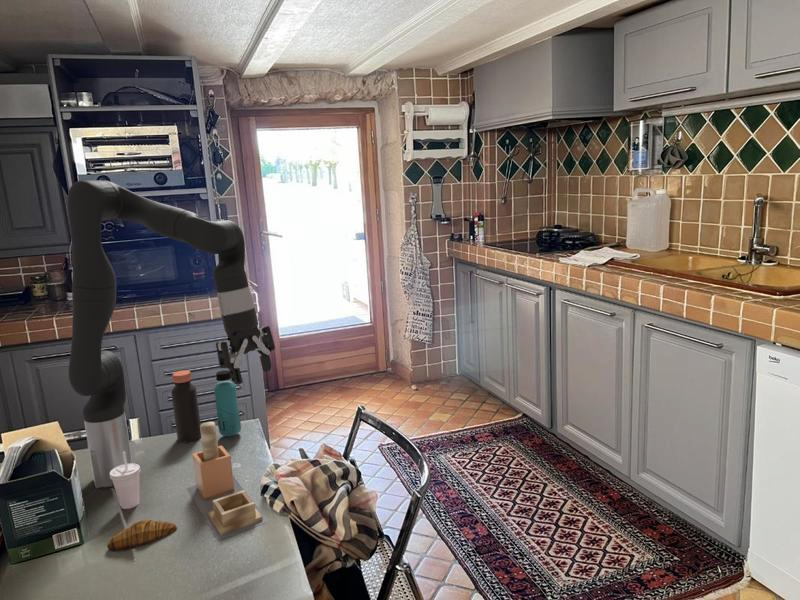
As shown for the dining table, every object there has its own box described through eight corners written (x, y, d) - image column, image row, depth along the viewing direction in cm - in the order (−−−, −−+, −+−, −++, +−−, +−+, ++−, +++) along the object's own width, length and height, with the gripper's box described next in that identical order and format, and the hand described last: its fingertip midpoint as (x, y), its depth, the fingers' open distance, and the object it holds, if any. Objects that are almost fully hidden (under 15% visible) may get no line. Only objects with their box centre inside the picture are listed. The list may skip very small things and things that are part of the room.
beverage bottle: (245, 431, 173) (238, 367, 169) (237, 441, 167) (229, 375, 163) (224, 431, 174) (217, 368, 170) (215, 441, 167) (207, 375, 163)
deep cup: (204, 500, 134) (200, 464, 132) (196, 488, 139) (192, 453, 138) (234, 490, 137) (230, 455, 136) (225, 479, 143) (221, 445, 141)
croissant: (106, 561, 115) (102, 539, 114) (109, 542, 121) (105, 521, 120) (178, 542, 120) (175, 521, 119) (177, 525, 126) (174, 505, 125)
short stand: (220, 535, 120) (218, 518, 119) (208, 515, 127) (206, 500, 127) (262, 519, 125) (260, 503, 124) (248, 501, 132) (246, 486, 131)
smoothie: (134, 516, 130) (125, 459, 127) (109, 514, 132) (99, 458, 129) (151, 501, 136) (143, 446, 134) (127, 499, 138) (118, 445, 135)
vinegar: (206, 435, 172) (198, 371, 168) (187, 444, 166) (179, 378, 162) (191, 431, 175) (183, 368, 171) (172, 439, 170) (163, 375, 166)
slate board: (218, 544, 118) (218, 540, 118) (187, 492, 140) (186, 488, 140) (269, 525, 124) (269, 521, 124) (232, 477, 146) (231, 474, 145)
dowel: (210, 492, 136) (202, 429, 133) (206, 486, 139) (198, 424, 136) (224, 487, 138) (216, 425, 135) (220, 482, 141) (212, 420, 137)
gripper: (251, 302, 138) (265, 366, 141) (201, 317, 127) (217, 387, 130) (272, 300, 134) (286, 367, 136) (222, 316, 122) (239, 389, 125)
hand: (253, 377), depth 133 cm, fingers open, 8 cm apart
